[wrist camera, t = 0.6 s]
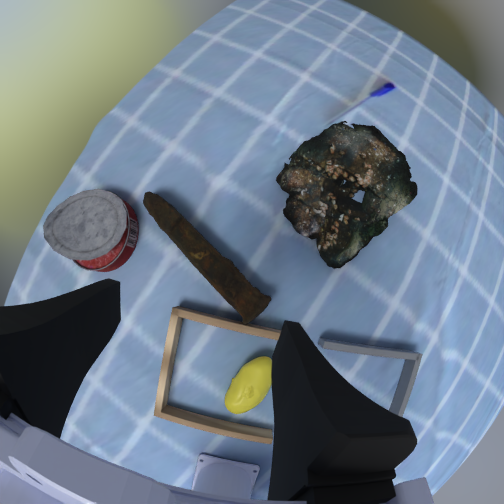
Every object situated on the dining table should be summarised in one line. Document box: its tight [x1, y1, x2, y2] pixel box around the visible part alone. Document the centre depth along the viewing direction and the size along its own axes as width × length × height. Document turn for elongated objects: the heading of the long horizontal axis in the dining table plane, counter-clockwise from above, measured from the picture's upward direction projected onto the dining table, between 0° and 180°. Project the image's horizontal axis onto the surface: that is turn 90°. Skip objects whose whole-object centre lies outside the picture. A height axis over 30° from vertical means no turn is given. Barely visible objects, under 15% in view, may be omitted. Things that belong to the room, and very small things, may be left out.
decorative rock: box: [276, 121, 417, 269], centre depth 32 cm, size 19×6×15 cm
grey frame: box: [318, 338, 422, 417], centre depth 29 cm, size 14×13×2 cm
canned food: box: [43, 189, 139, 272], centre depth 30 cm, size 11×10×10 cm
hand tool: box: [143, 192, 271, 325], centre depth 31 cm, size 19×4×5 cm, turn 42°
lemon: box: [225, 356, 272, 414], centre depth 29 cm, size 4×8×4 cm, turn 144°
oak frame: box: [154, 306, 281, 444], centre depth 29 cm, size 14×14×2 cm
